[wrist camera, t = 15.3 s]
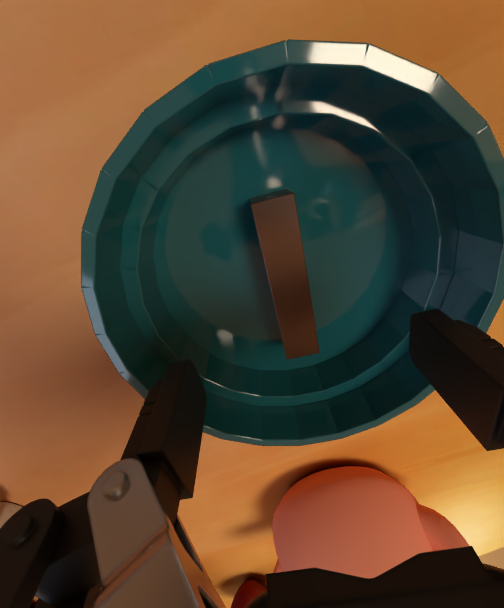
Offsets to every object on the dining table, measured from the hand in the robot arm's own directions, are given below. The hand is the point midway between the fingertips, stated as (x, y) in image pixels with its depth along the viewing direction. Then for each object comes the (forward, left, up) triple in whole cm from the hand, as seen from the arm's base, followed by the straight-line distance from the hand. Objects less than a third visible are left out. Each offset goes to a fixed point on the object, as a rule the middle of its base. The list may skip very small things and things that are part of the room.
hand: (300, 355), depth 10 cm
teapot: (+28, +2, -9) cm, 30 cm away
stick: (0, +1, -8) cm, 8 cm away
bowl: (0, 0, -9) cm, 9 cm away
